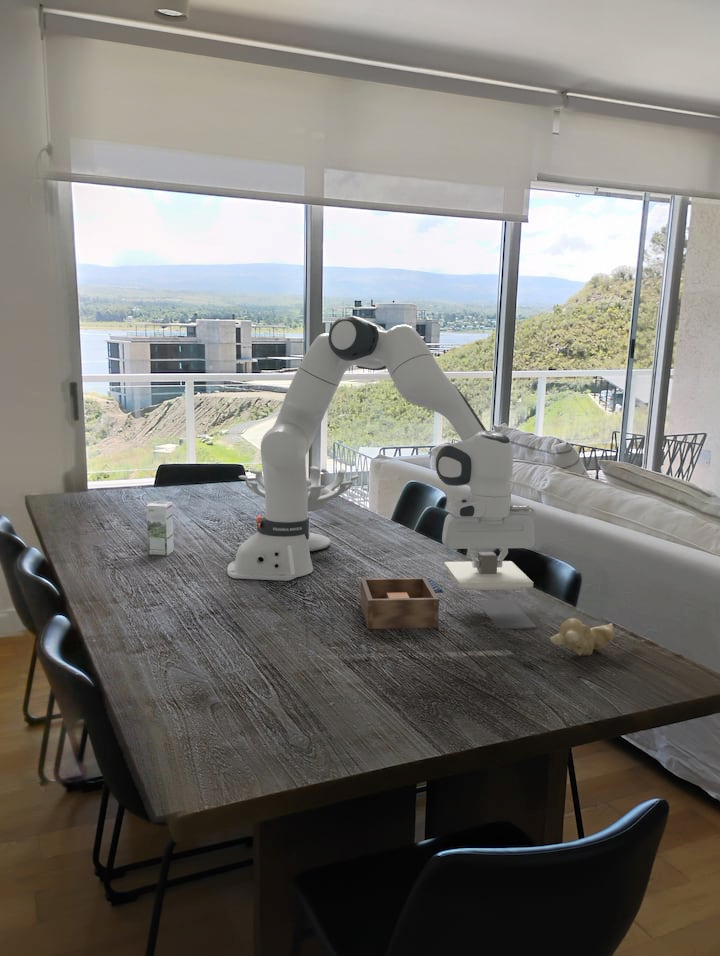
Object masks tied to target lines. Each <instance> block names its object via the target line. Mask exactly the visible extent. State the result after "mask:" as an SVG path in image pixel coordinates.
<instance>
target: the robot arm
mask: <svg viewBox="0 0 720 956" xmlns="http://www.w3.org/2000/svg"><path fill="white" fill-rule="evenodd" d="M354 366H356V368H357V369H364V370H368V371H369V370H370V371H383V370H387V372H388V374H389V376H390V378H391V380H392V382H393V385H394V386H395V388H396V390H397V392H398V393H399V395H401V396H402V398H403V399H404V400H405V401H406V402H408V403H410V404H411V405H413V406H418V407H420V408H425V409H427V410H431V411H433V412H436V413H437V414H440V415H441V416H443V417H444V418H445V419H446V420H448V422H449V423H450V425H451V426H452V428H453V429H454V431H455V432H456V434H457V435H458V436H459V438H460V440H461V441H459V442H455V443H450V444H447V445H445V446H442V447H441V448H440V450H439V451H438V452H437V454H436V458H435V471H436V474H437V476H438V478H439V480H440V481H442V483H443V484H444V485H447V486H452V487H462V486H468V487H469V488H470V489H469V490H470V492H469V493H470V495H468V496H465V497H462V498H459V499H456V500H453V501H451V502H449V503H448V510H449V513H448V514H447V515H446V516H445V518H444V523H443V527H442V528H443V529H442V536H441V537H442V538H441V541H442V544H443V546H445V548H446V549H449V550H451V549H452V550H453V549H454V550H455V549H460V550H461V549H462V550H463V549H465V550H466V549H467V553H468V554H469V556H470V557H471V559H472V566H473V568H480V563H481V560H480V559H479V558H478V557H476V555H475V554H477V549H499V555H497V556H498V559H497V567H502V561H504V559H505V558H506V557H507V555H508V554H509V549H531V548H533V546H534V545H535V542H536V540H535V528H534V527H535V525H534V524H535V522H536V511H535V510H534V508H532V507H530V506H529V505H521V506H520V505H511V504H512V503H511V501H512V490H511V485H510V484H511V480H512V478H513V469H514V468H513V467H514V466H513V465H514V462H513V461H514V460H513V459H514V454H513V446H512V441H511V439H510V438H509V436H507V435H505V434H504V433H501V432H497V431H491V430H487V429H486V427H485V426H484V424H483V423H482V421H481V420H480V418H479V416H478V415H477V413H476V412H475V410H474V409H473V407H472V406H471V405H470V403H469V402H468V400H467V398H466V397H465V395H464V394H463V393H462V392H461V391H460V390H459V388H458V387H456V385H455V384H453V382H452V381H451V380H450V379H449V378H448V377H447V375H446V374H445V373H444V372H443V371H442V369H441V367H440V366H439V364H438V363H437V360H436V358H435V357H434V355H433V353H432V351H431V350H430V348H429V346H428V345H427V343H426V341H425V340H424V339H423V337H422V336H421V334H420V333H418V331H417V330H416V329H415V328H414V327H413V326H411V325H408V324H398V325H395V326H393V327H391V328H389V329H386V328H384V327H382V326H381V325H379V324H377V323H375V322H373V321H369V320H366V319H364V318H362V317H359V316H356V315H355V316H354V315H345V316H341V317H340V318H337V320H335V321H334V322H333V324H332V325H331V326H330V329H329V332H325V333H320V334H319V335H318V336H317V337H316V338H315V339H314V340H313V342H312V343H311V344H310V346H309V348H308V349H307V351H306V352H305V354H304V355H303V358H302V360H301V362H300V363H299V365H298V368H297V369H296V372H295V374H294V376H293V378H292V380H291V383H290V385H289V387H288V389H287V391H286V393H285V396H284V399H283V402H282V405H281V408H280V410H279V413H278V414H277V417H276V419H275V422H274V425H273V426H272V427H271V428H270V429H269V430H267V431H266V433H264V435H263V437H262V438H261V442H260V453H261V454H260V455H261V466H262V476H263V478H264V484H265V489H264V491H265V498H264V513H265V514H264V516H262V515H258V516H257V517H256V519H255V523H256V525H257V526H256V527H257V531H256V532H255V533H254V534H252V535H251V536H250V537H249V538H247V539H245V541H243V542H242V543H240V545H239V547H238V548H237V551H236V555H235V560H233V561H231V562H229V564H228V565H227V569H226V573H227V576H229V577H230V578H232V579H238V580H239V579H242V580H244V579H245V580H262V581H263V580H264V581H265V580H267V581H284V582H285V581H287V582H288V581H291V580H294V579H296V578H298V577H304V576H307V575H309V574H311V573H312V572H313V571H314V566H313V562H312V558H311V557H312V556H311V553H310V552H311V551H309V543H308V539H309V536H310V533H311V532H310V531H311V530H310V529H311V528H310V526H311V525H310V524H311V523H310V522H311V521H310V518H309V516H308V514H309V512H308V487H307V480H306V478H307V470H306V468H307V467H306V455H307V454H308V452H309V451H310V449H311V447H312V444H313V442H314V439H315V438H316V435H317V433H318V431H319V428H320V427H321V424H322V421H323V420H324V417H325V414H326V413H327V410H328V409H329V407H330V404H331V402H332V400H333V399H334V396H335V394H336V392H337V389H338V387H339V385H340V383H341V381H342V379H343V377H344V375H345V373H346V372H347V371H348V369H349V368H351V367H354Z"/></svg>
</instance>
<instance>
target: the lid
mask: <svg viewBox="0 0 720 956" xmlns="http://www.w3.org/2000/svg"><path fill="white" fill-rule="evenodd" d="M498 556H499V555H497V554H496V553H495V552H493V551H479V552H477V558H479V559H480V560H481V563H480V568H473V566H472V561H444V562H443V567H444V568H445V570H446V571H447V573H448V574H449V575H450V577H451V578H452V580H453V581H454V582H455V584H456V585H457V587H458V588H459V589H465V590H466V591H495V590H496V591H498V590H499V591H502V590H504V591H505V590H507V591H508V590H514V591H515V590H521V589H522V588H533V587H534V581H532V579H530V578H529V576H527V574H526V573H524V572H523V570H521V569H520V568H519V566H517V565H516V564H515V562H513V561H511V560H503V561H502V567H497V559H498Z"/></svg>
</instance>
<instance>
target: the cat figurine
mask: <svg viewBox="0 0 720 956" xmlns="http://www.w3.org/2000/svg"><path fill="white" fill-rule="evenodd" d="M614 632H615V631H614V626H613V623H608V624H601V625H598V626H594V627H590V626H589V625H587V624H584V623H583V622H582V621H581V620H580V619H578V618H577V617H576V618H574V617H571V618H568V619H567V618H566V620H564V621H563V622H562V623H561V625H560V626H559V630H558V633H557V634H555V635H552V636H550V638H549V639H550V640H549V641H550V642H551V643H552V644H554V645H556V646H558V645H559V646H565V648H567V649H569V650H570V651H574V652H575V653H576V654H577V655H578V656H579V657H581V656H591V655H592V654H593V652H594V650H600V649H604V648H606V647H607V646H608V644H609V643H611V642H613V640H614V636H615V634H614Z"/></svg>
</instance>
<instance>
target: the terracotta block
mask: <svg viewBox="0 0 720 956" xmlns="http://www.w3.org/2000/svg"><path fill="white" fill-rule="evenodd" d="M390 598H409V596H408V594H407V592H404V593H387V599H390Z"/></svg>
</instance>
